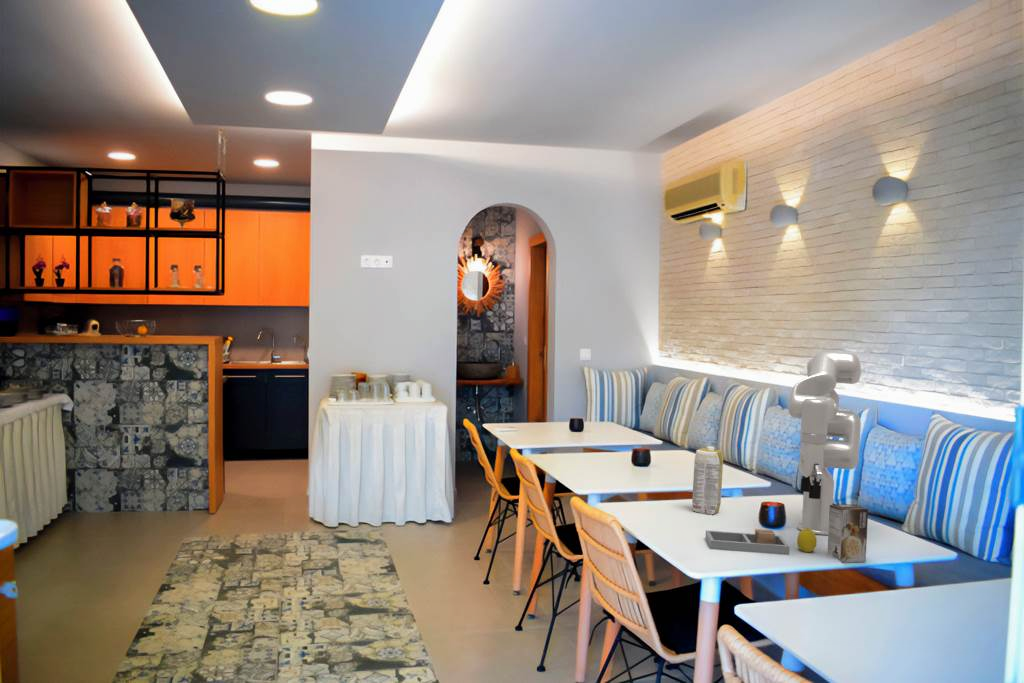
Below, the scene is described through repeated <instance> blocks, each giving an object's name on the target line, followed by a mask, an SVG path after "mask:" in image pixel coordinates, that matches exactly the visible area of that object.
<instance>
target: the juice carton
mask: <svg viewBox="0 0 1024 683" xmlns="http://www.w3.org/2000/svg"><path fill="white" fill-rule="evenodd" d="M723 468H724V456H723V450H717V449H716V450H715V446H709V445H708V446H707V447H706V448H704V447H701V448H699V449H697V450H695V455H694V464H693V482H692V498H691V499H692V502H691V503H692V510H693V512H694V511H695V512H694V513H699V512H701V514H705V513H707V514H706V515H710V514H714V515H716V514H717V513H719V511H720V508H721V502H722V487H723ZM715 513H716V514H715Z"/></svg>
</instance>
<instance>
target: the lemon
mask: <svg viewBox="0 0 1024 683" xmlns="http://www.w3.org/2000/svg"><path fill="white" fill-rule="evenodd" d="M796 539H797V540H796V544H797V547H798V548H799V550H800V551H802V552H804V553H811V552H813V551H815V549H816V546H817V536H816V534H814V532H813V531H811V530H809V528H806V529H804V530H802V531H801V530H799V532H798V536H797V538H796Z"/></svg>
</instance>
